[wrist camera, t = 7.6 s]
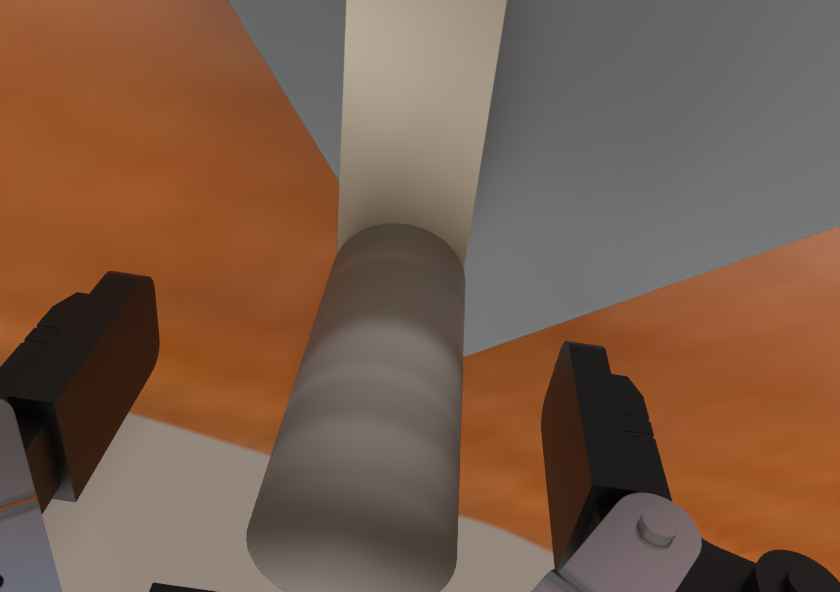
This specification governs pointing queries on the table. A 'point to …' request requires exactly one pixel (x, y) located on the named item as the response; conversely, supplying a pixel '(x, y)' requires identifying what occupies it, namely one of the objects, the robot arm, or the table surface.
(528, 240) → the board
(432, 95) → the lever
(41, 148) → the table surface
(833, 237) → the table surface
